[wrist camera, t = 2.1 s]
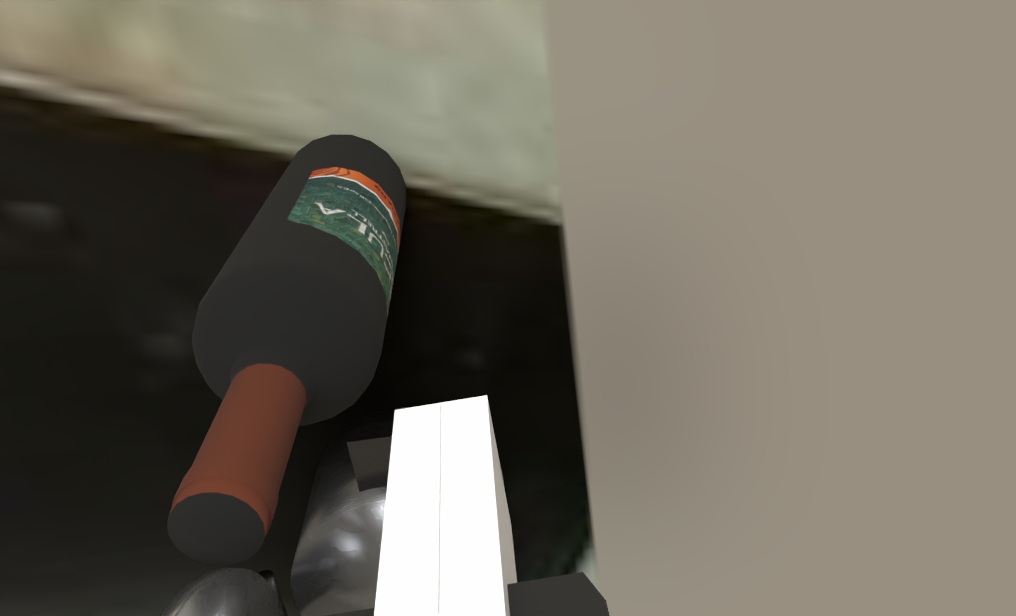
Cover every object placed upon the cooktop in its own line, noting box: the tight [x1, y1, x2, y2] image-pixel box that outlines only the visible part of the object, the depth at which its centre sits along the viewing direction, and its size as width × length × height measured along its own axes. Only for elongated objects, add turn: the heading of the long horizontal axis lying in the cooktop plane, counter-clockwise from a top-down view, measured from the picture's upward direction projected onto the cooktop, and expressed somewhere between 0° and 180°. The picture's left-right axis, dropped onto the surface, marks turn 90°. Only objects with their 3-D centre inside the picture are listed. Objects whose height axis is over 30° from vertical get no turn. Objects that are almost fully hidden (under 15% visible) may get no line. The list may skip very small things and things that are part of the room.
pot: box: [290, 407, 504, 616], centre depth 56 cm, size 14×21×10 cm, turn 7°
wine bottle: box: [167, 135, 406, 566], centre depth 36 cm, size 8×8×30 cm
